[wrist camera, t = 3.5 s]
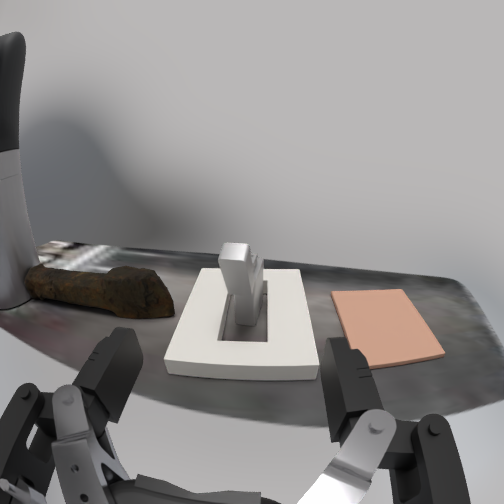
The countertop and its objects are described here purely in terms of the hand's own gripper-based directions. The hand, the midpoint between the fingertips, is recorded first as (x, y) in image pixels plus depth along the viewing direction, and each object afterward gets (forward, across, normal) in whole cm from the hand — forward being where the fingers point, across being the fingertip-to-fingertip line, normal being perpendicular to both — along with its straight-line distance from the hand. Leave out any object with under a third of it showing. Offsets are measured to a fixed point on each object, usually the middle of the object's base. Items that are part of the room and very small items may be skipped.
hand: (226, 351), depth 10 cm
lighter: (+10, 0, +7) cm, 12 cm away
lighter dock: (+10, 0, +6) cm, 12 cm away
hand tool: (+12, +16, +7) cm, 21 cm away
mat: (+9, -12, +6) cm, 17 cm away
